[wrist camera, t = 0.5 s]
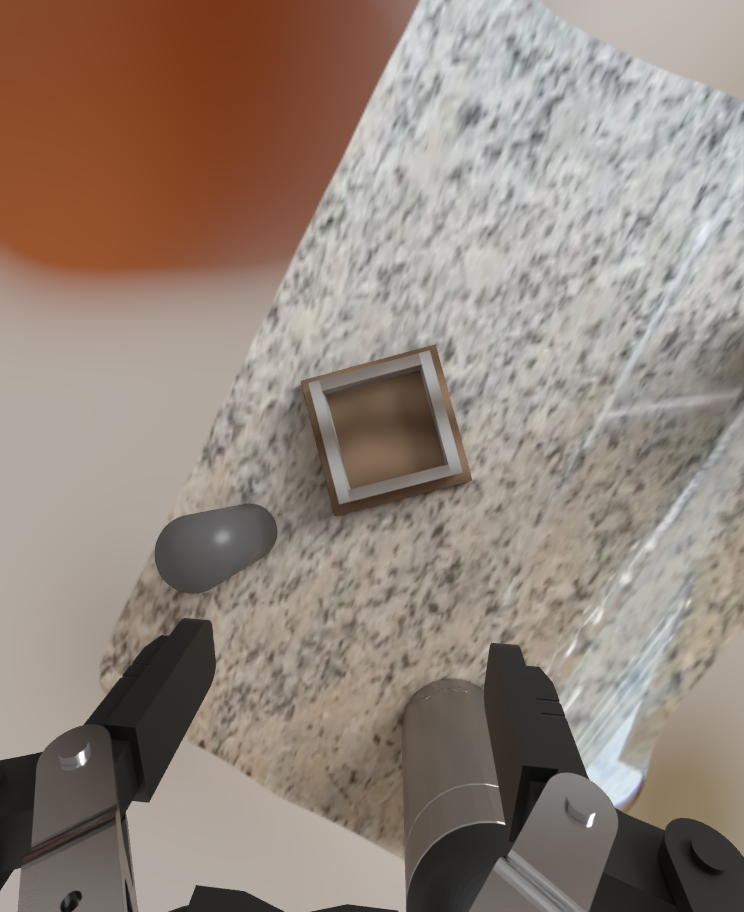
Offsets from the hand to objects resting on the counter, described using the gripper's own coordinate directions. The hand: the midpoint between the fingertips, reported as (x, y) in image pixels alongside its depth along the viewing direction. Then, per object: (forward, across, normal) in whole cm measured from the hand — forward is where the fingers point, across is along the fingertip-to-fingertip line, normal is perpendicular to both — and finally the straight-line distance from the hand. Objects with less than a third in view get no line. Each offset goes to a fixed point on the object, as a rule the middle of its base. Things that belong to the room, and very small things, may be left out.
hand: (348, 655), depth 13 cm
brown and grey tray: (+31, -1, -2) cm, 31 cm away
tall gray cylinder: (+27, -13, -11) cm, 32 cm away
